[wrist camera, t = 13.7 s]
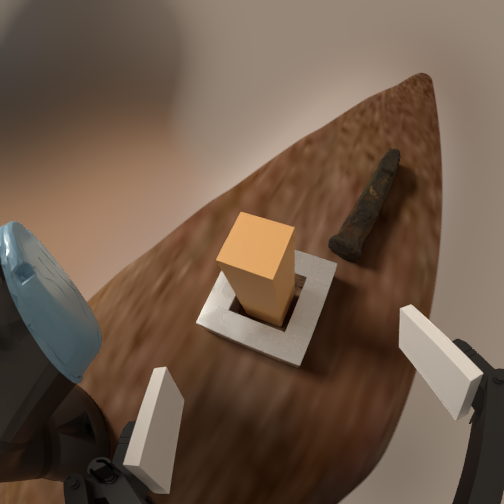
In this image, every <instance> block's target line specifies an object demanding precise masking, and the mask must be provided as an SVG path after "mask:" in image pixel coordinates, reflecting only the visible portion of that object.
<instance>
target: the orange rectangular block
mask: <svg viewBox="0 0 504 504" xmlns="http://www.w3.org/2000/svg"><path fill="white" fill-rule="evenodd" d="M216 261H217V263H218V264H219V266H220V268H221V270H222V272H223V273H224V275H225V277H226V279H227V280H228V282H229V284H230V286H231V287H232V289H233V291H234V292H235V294H236V296H237V298H238V299H239V301H240V303H241V305H242V306H243V308H244V310H245V311H246V313H247V314H248V315H250V316H253V317H255V318H258V319H261V320H263V321H266V322H268V323H271V324H274V325H277V326H279V327H281V326H282V324H283V322H284V319H285V317H286V314H287V312H288V309H289V307H290V304H291V302H292V299H293V297H294V287H295V227H291V226H288V225H285V224H281V223H278V222H274V221H271V220H268V219H264V218H261V217H257V216H254V215H250V214H247V213H243V212H241V213H240V215H239V216H238V218H237V220H236V222H235V224H234V226H233V228H232V230H231V232H230V234H229V236H228V238H227V239H226V241H225V243H224V245H223V247H222V249H221V251H220V253H219V255H218V257H217V259H216Z"/></svg>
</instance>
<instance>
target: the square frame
mask: <svg viewBox="0 0 504 504" xmlns="http://www.w3.org/2000/svg"><path fill="white" fill-rule="evenodd" d="M336 267H337V263H334V262H331V261H328V260H325V259H322V258H319V257H316V256H313V255H310V254H307V253H304V252H301V251H297V250H295V285H296V286H299V287H302V288H303V289H302V292H301V294H300V297H299V299H298V302H297V304H296V307H295V309H294V312H293V314H292V317H291V319H290V322H289V324H288V326H287V329H286V331H285V332H283V331H280V330H277V329H275V328H272V327H270V326H267V325H264V324H262V323H259V322H257V321H254V320H252V319H249V318H247V317H244V316H242V315H239V314H237V313H238V311H239V309H240V307H241V303H240V301H239V299H238V298H237V296H236V294H235V292H234V291H233V289H232V287H231V286H230V284H229V282H228V280H227V279H226V277H225V275H224V273H223V272H222V271H221V273H220V275H219V277H218V279H217V281H216V283H215V285H214V287H213V289H212V291H211V293H210V295H209V297H208V299H207V301H206V303H205V305H204V307H203V309H202V311H201V313H200V315H199V318H198V320H197V322H196V323H197V324H198V325H200V326H201V327H203V328H204V329H205V330H207V331H209V332H212V333H214V334H216V335H218V336H220V337H223V338H225V339H227V340H230V341H232V342H234V343H237V344H239V345H241V346H244V347H246V348H248V349H251V350H253V351H256V352H258V353H261V354H263V355H266V356H268V357H271V358H273V359H276V360H278V361H281V362H284V363H286V364H289V365H291V366H294V367H297V368H299V367H300V364H301V362H302V359H303V357H304V354H305V352H306V349H307V347H308V344H309V342H310V339H311V337H312V334H313V332H314V329H315V326H316V324H317V321H318V318H319V316H320V313H321V310H322V308H323V305H324V302H325V299H326V296H327V294H328V291H329V288H330V285H331V282H332V279H333V276H334V273H335V270H336Z"/></svg>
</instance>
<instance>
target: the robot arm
mask: <svg viewBox="0 0 504 504" xmlns="http://www.w3.org/2000/svg"><path fill="white" fill-rule="evenodd" d="M101 342H102V336H101V331H100V327H99V324H98V322H97V319H96V317H95V315H94V313H93V312H92V310H91V308H90V307H89V305H88V303H87V302H86V300H85V299H84V297H83V296H82V295H81V293H80V292H79V290H78V289H77V287H76V286H75V285H74V283H73V282H72V280H71V279H70V278H69V276H68V275H67V274H66V272H65V271H64V270H63V269H62V267H61V266H60V265H59V264H58V262H57V261H56V260H55V258H54V257H53V256H52V255H51V254H50V252H49V251H48V250H47V249H46V248H45V247H44V245H43V244H42V243H41V242H40V241H39V240H38V239H37V238H36V236H35V235H34V234H33V233H31V232H30V231H29V230H26V228H25V227H24V226H23V225H22V224H20V223H19V222H16V221H11V222H9V223H7V224H6V225H3V226H1V228H0V482H13V481H23V480H31V479H39V478H44V479H48V480H53V481H61V482H63V483H64V497H65V504H155V502H154V501H153V500H152V498H151V497H150V496H149V495H148V494H147V493H148V488H149V489H150V490H151V491H152V492H154V493H159V494H169V492H170V485H171V479H172V472H173V465H174V459H175V453H176V447H177V441H178V435H179V429H180V423H181V417H182V412H183V406H184V399H183V397H182V395H181V393H180V391H179V390H178V388H177V386H176V384H175V382H174V380H173V378H172V376H171V375H170V373H169V371H168V369H167V367H161V368H154V371H153V373H152V376H151V379H150V382H149V385H148V388H147V391H146V394H145V396H144V399H143V402H142V405H141V408H140V411H139V415H138V418H137V421H136V422H128V423H127V425H126V426H125V427H124V428H123V431H122V434H121V436H120V437H121V438H120V439H119V442H118V443H119V445H117V448H116V451H115V454H114V457H113V460H112V462H111V461H110V460H109V451H110V448H109V438H108V433H107V429H106V425H105V423H104V420H103V417H102V415H101V413H100V411H99V409H98V408H97V406H96V404H95V403H94V401H93V400H92V399H91V397H90V396H89V395H88V394H87V393H86V392H85V391H84V390H83V389H82V388H80V387H79V386H78V385H76V384H78V383H80V382H81V381H82V379H83V373H84V372H85V371H86V369H87V368H88V366H89V365H90V364H91V362H92V361H93V360H94V358H95V357H96V355H97V354H98V352H99V350H100V347H101ZM399 348H400V349H401V350H402V351H403V353H404V354H405V355H406V356H407V358H408V359H409V360H410V361H411V363H412V364H413V365H414V367H415V368H416V369H417V370H418V372H419V373H420V374H421V375H422V377H423V378H424V379H425V381H426V382H427V383H428V385H429V386H430V387H431V388H432V390H433V391H434V392H435V394H436V395H437V396H438V398H439V399H440V400H441V402H442V403H443V404H444V406H445V407H446V409H447V410H448V411H449V413H450V414H451V415H452V417H453V418H454V419H455V421H457V420H459V419H460V418H462V417H463V416H465V415H467V414H468V412H469V410H470V408H471V406H472V407H473V408H474V410H475V411H474V413H473V415H472V418H471V420H470V422H469V424H471V423H472V427H471V433H470V438H469V444H468V449H467V454H466V458H465V463H464V467H463V471H462V474H461V478H460V481H459V485H458V488H457V491H456V495H455V498H454V501H453V503H452V504H500V503H501V500H502V495H503V491H504V369H494V368H493V367H492V366H491V365H490V364H489V363H488V362H487V361H485V360H484V358H483V357H481V356H480V355H479V354H477V352H476V351H475V350H474V349H472V347H471V346H470V345H469V344H467V343H466V342H465V341H462V340H460V339H456V340H454V341H450V340H449V339H448V338H447V337H446V336H445V335H444V334H443V333H442V332H441V331H440V330H439V329H438V328H437V327H436V326H434V325H433V324H432V323H431V322H430V321H429V320H428V319H427V318H426V317H425V316H424V315H423V314H421V313H420V312H419V311H418V310H417V309H416V308H415V307H414V306H412V305H408V306H405V307H403V308H400V331H399Z"/></svg>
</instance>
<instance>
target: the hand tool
mask: <svg viewBox="0 0 504 504" xmlns="http://www.w3.org/2000/svg"><path fill="white" fill-rule="evenodd" d="M399 161H400V152H399V150H398V149H391V148H390V149H389V150H388V151H387V153H386V154H385V155H384V157H383V158H382V159H381V161H380V162H379V164H378V168H377V170H376V171H375V173H374V175H373V177H372V178H371V180H370V182H369V183H368V185H367V187H366V188H365V190H364V191H363V193H362V195H361V196H360V198H359V199H358V201H357V203H356V204H355V206H354V208H353V209H352V211H351V212H350V214H349V216H348V217H347V219H346V221H345V222H344V224H343V226H342V227H341V229H340V231H339V232H338V234H337V235H335V236H332V237H331V238H330V239H329V244H328V246H329V248H330V249H331V251H332V252H333V253H335V254H337V255H338V256H340V257H341V258H343V259H345V260H348V261H350V262H355V261H357V259H358V258H360V257H361V254H362V244H363V242H364V241H365V239H366V238H367V236H368V235H369V233H370V231H371V229H372V228H373V226H374V223H375V221H376V220H377V219H378V217H379V214H378V213H379V211H380V209H381V206H382V204H383V202H384V200H385V198H386V196H387V194H388V192H389V189H390V187H391V185H392V183H393V179H394V177H395V175H396V172H397V169H398V165H399Z"/></svg>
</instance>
